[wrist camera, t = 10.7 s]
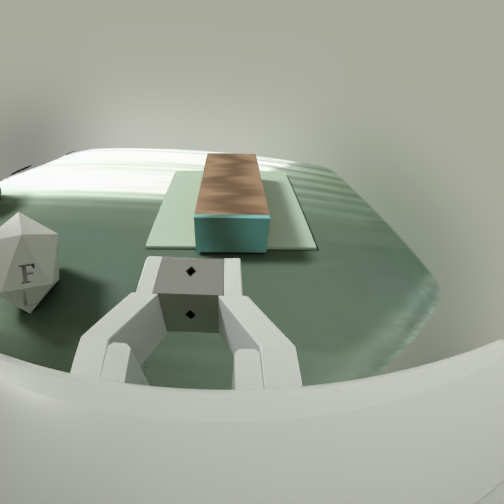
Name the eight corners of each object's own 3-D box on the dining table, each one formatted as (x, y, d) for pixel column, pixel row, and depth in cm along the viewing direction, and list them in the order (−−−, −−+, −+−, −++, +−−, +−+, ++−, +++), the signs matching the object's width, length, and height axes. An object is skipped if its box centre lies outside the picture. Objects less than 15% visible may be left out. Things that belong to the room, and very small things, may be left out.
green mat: (146, 248, 28) (145, 246, 28) (176, 172, 43) (176, 171, 43) (316, 249, 29) (316, 247, 29) (285, 174, 45) (285, 172, 45)
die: (-1, 328, 18) (-18, 291, 12) (-11, 253, 20) (-19, 196, 14) (64, 314, 24) (74, 276, 18) (48, 245, 26) (58, 191, 20)
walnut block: (193, 217, 25) (207, 153, 39) (196, 252, 27) (207, 177, 41) (270, 218, 26) (255, 154, 40) (266, 252, 28) (253, 178, 42)
